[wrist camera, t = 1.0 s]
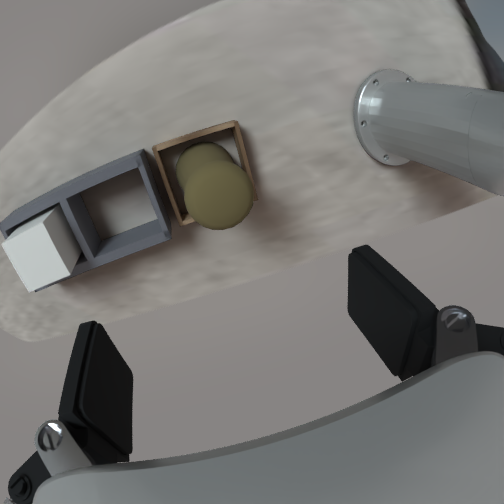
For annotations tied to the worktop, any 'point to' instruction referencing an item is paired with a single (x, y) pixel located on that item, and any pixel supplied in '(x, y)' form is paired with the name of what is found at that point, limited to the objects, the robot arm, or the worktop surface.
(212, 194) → the cork
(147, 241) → the grey divided tray
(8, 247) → the white block
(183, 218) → the wooden square frame
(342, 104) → the worktop surface
